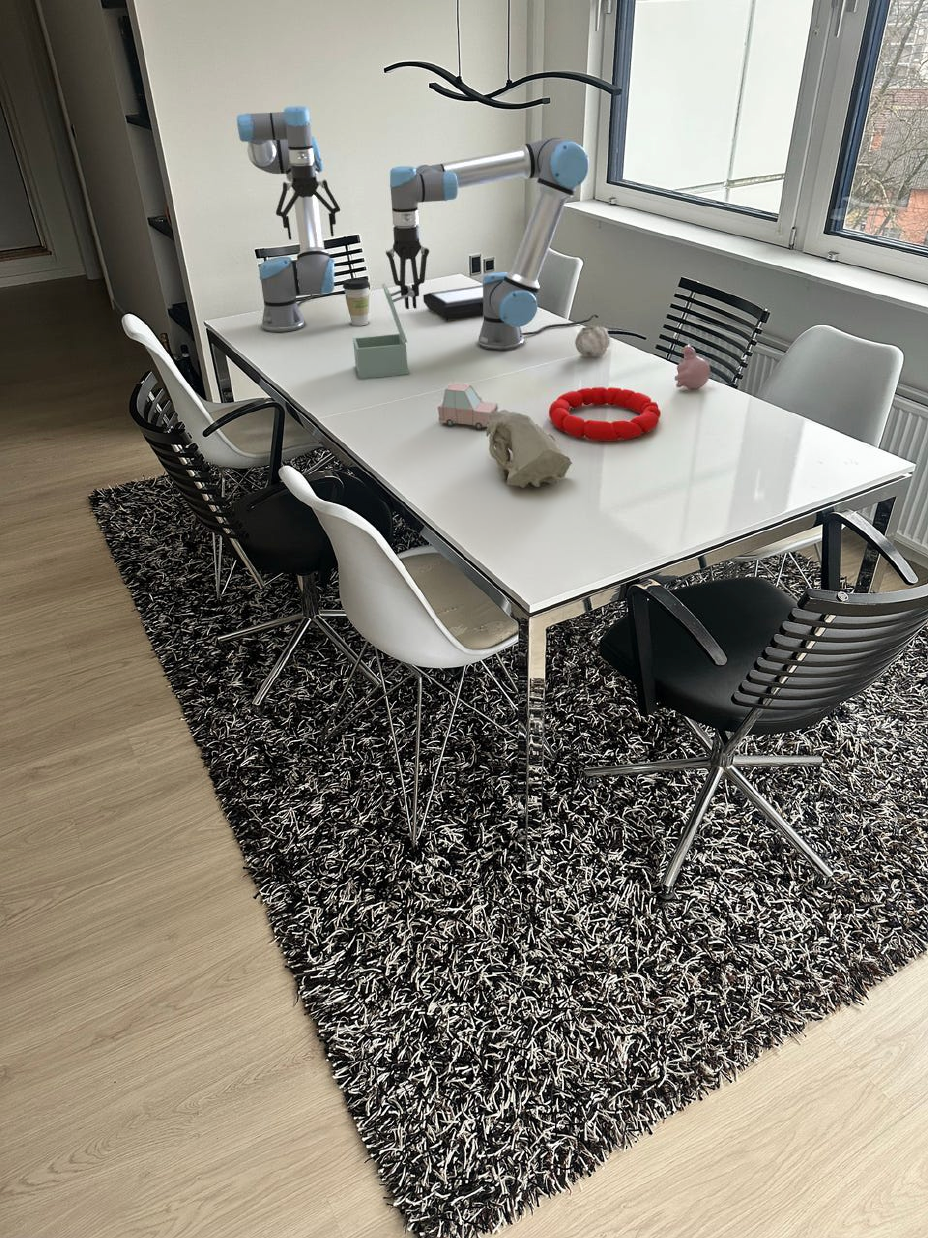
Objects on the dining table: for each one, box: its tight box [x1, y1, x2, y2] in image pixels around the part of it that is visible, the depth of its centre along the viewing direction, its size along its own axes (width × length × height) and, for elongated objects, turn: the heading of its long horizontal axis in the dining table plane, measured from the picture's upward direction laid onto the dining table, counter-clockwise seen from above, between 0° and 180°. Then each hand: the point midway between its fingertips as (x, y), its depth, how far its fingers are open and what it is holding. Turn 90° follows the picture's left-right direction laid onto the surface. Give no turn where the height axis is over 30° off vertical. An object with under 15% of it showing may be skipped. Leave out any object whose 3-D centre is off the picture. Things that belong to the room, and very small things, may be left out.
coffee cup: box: [342, 277, 371, 327], centre depth 323 cm, size 10×10×15 cm
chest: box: [352, 333, 409, 380], centre depth 281 cm, size 15×12×9 cm
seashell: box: [574, 324, 611, 358], centre depth 286 cm, size 10×15×10 cm
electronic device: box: [422, 284, 483, 322], centre depth 335 cm, size 32×6×20 cm
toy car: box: [437, 382, 499, 431], centre depth 243 cm, size 9×15×10 cm, turn 70°
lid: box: [381, 282, 415, 344], centre depth 275 cm, size 16×12×8 cm
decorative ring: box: [548, 386, 661, 442], centre depth 242 cm, size 7×30×30 cm
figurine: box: [674, 344, 711, 390], centre depth 259 cm, size 9×11×12 cm
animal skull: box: [485, 409, 573, 489], centre depth 216 cm, size 17×25×20 cm
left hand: (311, 237), depth 288 cm, fingers open, 13 cm apart
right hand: (410, 307), depth 275 cm, fingers closed on lid, 2 cm apart
